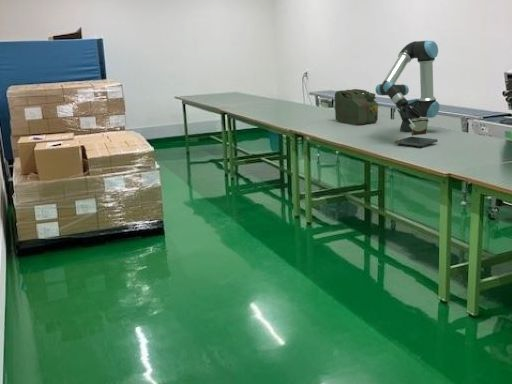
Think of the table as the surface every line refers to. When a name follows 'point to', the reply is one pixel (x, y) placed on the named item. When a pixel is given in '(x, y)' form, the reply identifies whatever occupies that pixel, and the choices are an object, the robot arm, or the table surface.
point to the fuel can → (355, 107)
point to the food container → (419, 126)
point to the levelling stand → (415, 141)
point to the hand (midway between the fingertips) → (419, 126)
